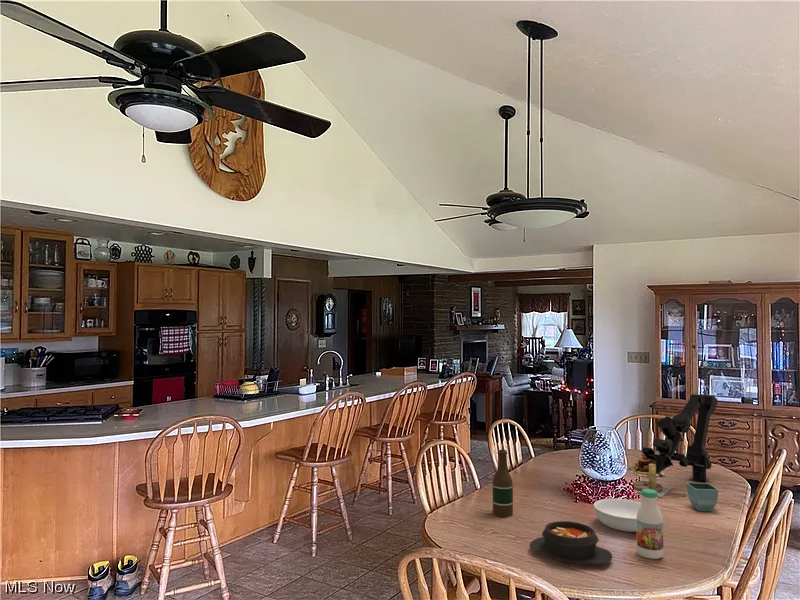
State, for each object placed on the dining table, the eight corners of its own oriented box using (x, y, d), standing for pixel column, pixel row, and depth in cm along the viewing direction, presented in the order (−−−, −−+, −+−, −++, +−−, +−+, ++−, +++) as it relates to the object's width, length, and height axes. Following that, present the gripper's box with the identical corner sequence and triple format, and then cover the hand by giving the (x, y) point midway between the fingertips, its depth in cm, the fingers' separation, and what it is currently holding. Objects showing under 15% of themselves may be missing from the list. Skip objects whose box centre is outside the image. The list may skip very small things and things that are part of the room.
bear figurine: (646, 468, 284) (645, 443, 284) (670, 476, 270) (670, 450, 270) (624, 471, 279) (623, 445, 279) (647, 479, 265) (647, 452, 265)
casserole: (618, 554, 182) (617, 527, 182) (605, 577, 166) (604, 547, 166) (540, 538, 195) (540, 513, 195) (521, 558, 179) (521, 530, 179)
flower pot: (709, 505, 228) (709, 482, 228) (719, 513, 219) (719, 489, 219) (686, 505, 229) (685, 482, 229) (695, 512, 220) (694, 489, 220)
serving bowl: (628, 542, 191) (627, 521, 191) (581, 522, 210) (581, 503, 210) (670, 531, 201) (670, 511, 201) (622, 513, 219) (621, 495, 219)
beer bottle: (515, 512, 220) (515, 449, 221) (510, 519, 213) (510, 453, 214) (495, 509, 223) (495, 447, 224) (489, 515, 216) (489, 451, 217)
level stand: (634, 482, 260) (634, 480, 260) (672, 489, 249) (672, 487, 249) (621, 490, 247) (621, 488, 247) (661, 498, 237) (661, 496, 237)
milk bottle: (632, 549, 185) (631, 487, 186) (655, 549, 186) (654, 486, 186) (644, 560, 178) (643, 494, 178) (668, 559, 178) (667, 493, 179)
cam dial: (627, 483, 254) (627, 458, 254) (654, 483, 255) (653, 457, 255) (640, 492, 242) (639, 465, 242) (668, 492, 242) (668, 465, 242)
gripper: (643, 428, 255) (628, 456, 248) (683, 434, 239) (669, 465, 232) (654, 443, 259) (640, 472, 252) (695, 451, 243) (680, 482, 236)
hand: (656, 472), depth 243 cm, fingers closed, pressing on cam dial
